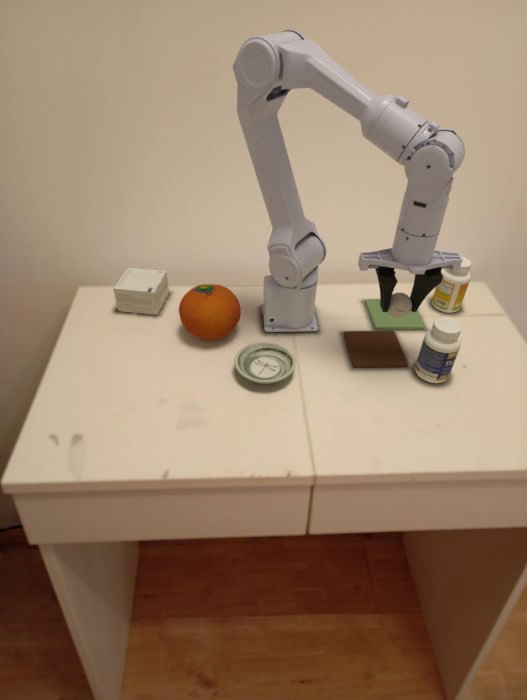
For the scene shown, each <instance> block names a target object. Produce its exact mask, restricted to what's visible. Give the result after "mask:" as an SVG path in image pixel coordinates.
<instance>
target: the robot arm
mask: <svg viewBox="0 0 527 700" xmlns="http://www.w3.org/2000/svg"><path fill="white" fill-rule="evenodd" d="M232 70H233V75H234V77H235V81H236V83H237V87H236V88H237V91H236V113H237V118H238V121H239V124H240V127H241V131H242V134H243V137H244V140H245V144H246V146H247V150H248V153H249V156H250V160H251V163H252V166H253V170H254V173H255V176H256V179H257V183H258V185H259V188H260V192H261V195H262V198H263V202H264V205H265V208H266V212H267V214H268V218H269V222H270V225H271V228H272V229H271V232H270V236H269V239H268V241H267V242H268V243H267V245H266V249H267V251H268V256H269V260H268V270H269V273H270V274H268V275H264V276H263V291H262V292H263V293H262V296H263V297H262V304H261V315H263V326H264V327H263V329H264V331H265V332H267V333H289V332H290V333H291V332H292V333H293V332H294V333H296V332H317V331H318V330H319V326H318V322H317V317H316V313H315V309H316V299H317V290H318V280H319V265H321V264H323V262H324V261H325V259H326V257H327V254H328V253H327V252H328V250H327V246H326V242H325V241H324V239H323V238H322V236H320V234H319V232H318V230H317V227H316V224H315V222H313V221H312V220H310V219H308V218H307V217H306V216H305V212H304V209H303V205H302V201H301V198H300V194H299V190H298V187H297V183H296V180H295V175H294V172H293V169H292V168H293V167H292V165H291V162H290V158H289V154H288V151H287V146H286V143H285V139H284V136H283V132H282V129H281V124H280V120H279V117H278V113H279V111H280V109H281V108H282V106H283V103H284V102H285V100H286V97H287V95H288V94H289V93H290V91H292V90H297V89H311V90H313V91H314V92H315V93H317V94H319V95H320V96H321V97H323V98H324V99H326V100H327V101H329V102H330V103H332V104H333V105H334V106H336V107H338V108H339V109H341V110H342V111H344V112H345V113H347V114H349V116H352V117H353V118H355V119H356V120H358V121H359V123H360V129H361V135H362V137H363V138H365V140H367V141H368V142H370V143H371V144H372V145H374V146H375V147H376V148H378V149H379V150H380V151H382V152H383V153H384V154H385V155H387V156H388V157H389V158H391V159H392V160H393V161H395V162H396V163H398V165H400V166H402V167H404V174H405V177H406V179H407V184H406V188H405V191H404V193H403V196H402V197H403V198H402V203H401V205H400V206H401V207H400V210H399V216H398V220H397V224H396V228H395V233H394V238H393V241H392V242H393V244H392V247H390V248H385V249H384V248H383V249H380V250H374V251H367V252H359V256H358V262H357V265H358V268H359V270H360V271H361V272H366V271H368V270H369V269H374V270H375V274H376V276H377V277H376V278H377V281H378V286H379V287H378V288H379V297H380V298H379V299H380V306H381V309H382V311H383V312H388V309H389V305H390V300H391V296H392V294H394V293H393V292H394V290H395V288H396V286H397V284H398V282H399V281H398V279H397V276H396V271H395V270H401V271H402V270H403V271H407V272H409V273H410V274H411V275H414V280H413V285H412V289H411V292H410V296H409V297H410V299H411V301H412V309H411V311H412V312H416V311H417V312H418V310H419V308H420V306H421V305H422V304H423V302H424V300H425V299H426V298H427V296H428V295H429V294H431V292H432V291H433V290H434V289H436V286H437V285H439V284H440V283H441V282H442V279H443V275H442V273H441V270H442V269H451V270H452V271H459V269H460V266H461V263H462V260H463V259H462V258H461V257H462V256H461V255H460V253H458V252H449V251H442V250H435V249H436V246H437V242H438V238H439V235H440V231H441V228H442V225H443V221H444V218H445V214H446V211H447V207H448V204H449V202H450V201H449V200H450V193H451V191H452V187H453V182H454V178H455V177H453V176H454V174H455V173H456V172H457V171H458V170H459V168H461V166H462V164H463V161H464V159H465V155H466V147H465V143H464V142H463V141H464V140H463V139H462V138H461V136H460V135H458V134H457V132H456V130H454V129H452V128H449V127H448V128H447V127H443V128H440V126H441V125H440V123H439V122H437V121H435V120H433V121H428V119H426V118H424V117H423V116H422V115H421V114H419V113H418V112H417V111H415V110H414V109H413V108H412V107H410V106H408V105H409V103H410V99H409V98H407V96H405V95H403V94H401V95H399V96H397V97H396V96H395V95H394V94H391V93H389V94H385V95H382V96H377V95H376V94H375V93H373V92H372V91H371V90H370V89H369V88H367V87H366V85H364V84H362V83H361V81H359V80H358V79H357V78H356V77H354V76H353V75H352V74H351V73H349V72H348V71H347V70H346V69H345V68H344V67H343V66H341V65H340V64H339V63H338V62H337V61H336V60H334V59H333V57H331V56H329V54H327V53H326V52H325V51H324V50H323V49H322V48H321V47H320V45H318V43H317V42H316V41H314V40H313V39H310V38H307V37H305V36H304V34H303V33H301V32H300V31H298V30H296V29H286V30H282V31H281V32H275V33H271V34H266V35H252V36H250V37H248V38H246V39H245V40H244V42H243V43H242V44H241V46H240V48H239V50H238V52H237V55H236V57H235V59H234V62H233V64H232Z"/></svg>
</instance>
